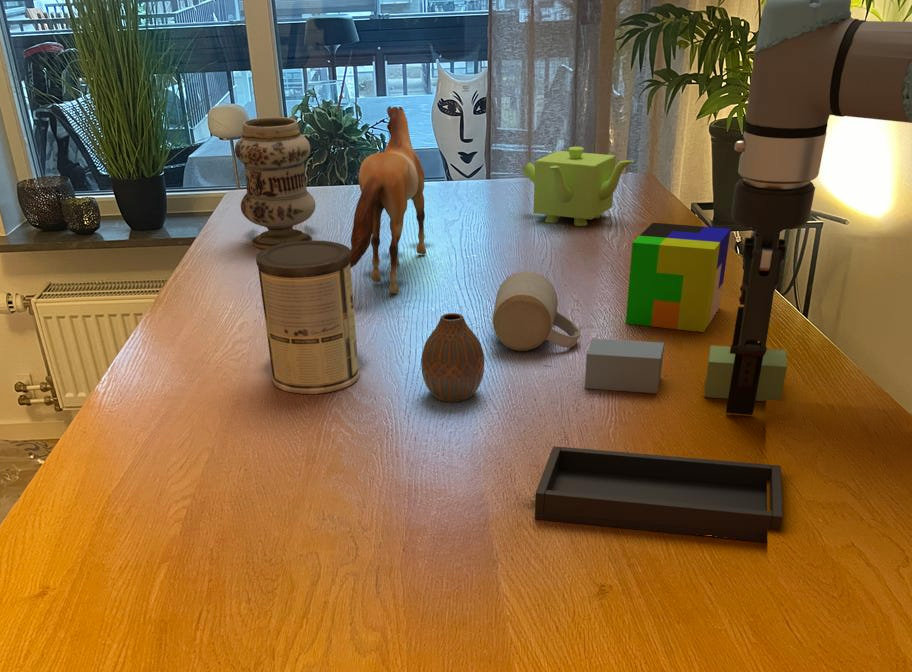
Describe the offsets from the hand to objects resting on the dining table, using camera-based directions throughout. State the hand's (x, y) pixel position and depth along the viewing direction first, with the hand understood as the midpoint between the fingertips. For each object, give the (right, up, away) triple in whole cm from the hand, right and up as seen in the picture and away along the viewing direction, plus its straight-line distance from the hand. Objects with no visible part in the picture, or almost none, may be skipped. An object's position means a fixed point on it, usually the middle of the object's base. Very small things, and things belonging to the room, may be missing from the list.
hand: (740, 388), depth 110 cm
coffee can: (-47, +3, +7) cm, 48 cm away
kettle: (-10, +44, +62) cm, 77 cm away
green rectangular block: (0, 0, 0) cm, 0 cm away
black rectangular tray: (-14, -16, -20) cm, 29 cm away
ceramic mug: (-21, +9, +14) cm, 27 cm away
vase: (-32, -1, +2) cm, 32 cm away
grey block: (-12, +1, +3) cm, 13 cm away
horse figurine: (-42, +26, +39) cm, 63 cm away
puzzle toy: (-2, +15, +21) cm, 25 cm away
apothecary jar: (-59, +38, +55) cm, 89 cm away
